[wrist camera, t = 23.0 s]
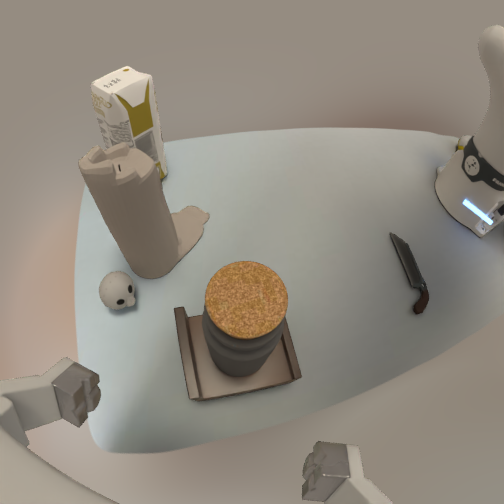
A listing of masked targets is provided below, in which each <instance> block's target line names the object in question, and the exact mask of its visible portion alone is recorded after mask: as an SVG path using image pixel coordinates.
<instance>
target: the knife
mask: <svg viewBox="0 0 504 504" xmlns="http://www.w3.org/2000/svg"><path fill="white" fill-rule="evenodd" d="M390 235H391V237H392V239H393V241H394V244H395V246H396V248H397V251H398V253H399V255H400V258H401V260H402V262H403V265H404V267H405V270H406V272H407V275H408V277H409V280H410V282H411V285H412V286H413V288H420V289H421V291H422V292H421V298H420V299H419V300H418V301H417V303H416V304H415V305H414V312H415V313H416V314H420V313H422V312H423V311H424V309H425V308H426V305H427V303H428V301H429V293H428V289H427V286H426V283H425V281H424V279H423V278H422V276H421V273H420V271H419V268H418V266H417V264H416V261H415V259H414V257H413V254H412V252H411V250H410V248H409V245H408V244H407V243H405V241H403V240H402V239H401V238H399V237H398V236H396V235H395V234H393V233H390ZM422 284H423V285H424V287H423V286H422Z"/></svg>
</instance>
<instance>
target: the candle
mask: <svg viewBox="0 0 504 504" xmlns="http://www.w3.org/2000/svg"><path fill="white" fill-rule="evenodd" d="M78 165H79V169H80V171H81V173H82V175H83V177H84V180H85V182H86V184H87V186H88V188H89V190H90V192H91V194H92V196H93V198H94V200H95V202H96V205H97V207H98V209H99V211H100V213H101V215H102V217H103V219H104V221H105V223H106V225H107V226H108V228H109V230H110V232H111V234H112V235H113V237H114V239H115V241H116V242H117V244H118V246H119V248H120V250H121V251H122V253H123V255H124V257H125V258H126V260H127V262H128V263H129V265H130V267H131V269H132V270H133V271H134V272H135V273H136V274H137V275H138V276H140V277H143V278H147V279H154V278H159V277H162V276H164V275H166V274H167V273H169V272H170V271H171V270H172V269H173V267H174V266H175V265H176V264H177V263H178V262H179V261H180V260H181V259H182V258H183V257H184V256H185V255H186V254H187V253H188V252H189V251H190V250H191V249H192V248H193V247H194V245H195V244H196V243H197V241H198V240H199V239H200V237H201V236H202V234H203V230H204V228H203V224H204V223H206V222H207V220H208V219H209V214H208V213H205V212H204V211H202V210H201V209H199V208H197V207H195V206H187V207H186V208H184V209H183V210H181V211H180V212H178V213H172V214H170V212H169V209H168V206H167V203H166V200H165V197H164V194H163V191H162V184H161V180H160V174H159V172H158V170H157V167H156V165H155V163H154V160H153V159H152V158H151V157H149V156H148V155H147V154H145V153H144V152H142V151H141V150H139V149H137V148H132V149H130V147H129V146H128V144H126V143H125V142H123V143H119V144H116V145H114V146H112V147H110V148H108V149H106V150H103V149H102V148H101V147H100V146H95V147H93V148H92V149H91V150H90V151H89V152H88V153H87V155H86V156H85V157H82V158H81V159H80V160H79V162H78Z"/></svg>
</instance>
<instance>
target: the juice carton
mask: <svg viewBox="0 0 504 504" xmlns="http://www.w3.org/2000/svg"><path fill="white" fill-rule="evenodd" d="M91 91H92V100H93V106H94V109H95V112H96V116H97V120H98V123H99V126H100V129H101V133H102V136H103V139H104V142H105V145H106V148H107V149H108V148H110V147H112V146H114V145H116V144H119V143H123V142H125V143H126V144H128V146H129V147H130V149H132V148H137V149H139V150H141V151H142V152H144V153H145V154H147V155H148V156H149V157H151V158H152V159H153V160H154V163H155V165H156V167H157V170H158V172H159V174H160V180H161V179H162V178H163V177H165V176H166V175H167V167H166V158H165V152H164V146H163V140H162V134H161V128H160V122H159V115H158V108H157V101H156V94H155V88H154V83H153V80H152V75H148V74H145V73H139V72H137V71H135V70H134V69H133V68H130V67H129V66H126V67H123V68H121V69H119V70H116V71H114V72H112V73H109V74H107V75H105V76H103V77H102V78H100V79H98V80H96V81H94V82H92V83H91Z"/></svg>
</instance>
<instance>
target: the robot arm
mask: <svg viewBox="0 0 504 504" xmlns="http://www.w3.org/2000/svg"><path fill="white" fill-rule="evenodd" d="M478 50H479V55H480V59H481V61H482V63H483V65H484V68H485V70H486V72H487V75H488V78H489V83H490V103H489V107H488V110H487V113H486V115H485V117H484V119H483V121H482V124H481V125H480V127H479V129H478V131H477V132H476V134H475V136H472V137H471V138H470V140H468V141H467V143H466V145H465V147H464V149H463V150H457V151H456V153H455V154H454V155H453V156H452V158H451V159H450V160H449V161H448V163H447V164H446V165H445V166H444V167H443V166H439V168H438V169H437V174H438V177H437V179H436V181H435V189H436V193H437V195H438V197H439V199H440V201H441V203H442V204H443V206H444V207H445V208H446V210H447V211H448V212H449V213H450V214H451V215H452V216H453V217H454V218H455V219H456V220H457V221H459V222H460V223H462V224H463V225H465V226H467V227H469V228H470V229H471V230H472V231H473V232H474V233H475V234H477V235H478V236H479V237H483V236H484V235H485V234H487V233H488V232H489V231H491V230H492V229H493V228H494V227H496V226H497V225H498V224H500V223H501V222H502V221H503V219H504V27H502V26H500V25H493V26H490V27H488V28H487V29H485V30H484V31H483V32H482V34H481V36H480V38H479V43H478ZM99 382H100V381H99V375H98V374H96V373H95V372H93V371H91V370H89V369H87V368H85V367H84V366H82V365H80V364H78V363H76V362H74V361H73V360H71V359H69V358H67V357H66V358H63V359H61V360H60V361H59V362H58V363H57V364H55V365H54V366H53V367H52V368H50V369H49V370H48V371H47V372H46V373H44V374H43V375H42V376H41V377H40V376H39V375H35V376H29V377H22V378H15V379H7V380H0V504H119V503H117V502H115V501H113V500H111V499H109V498H106V497H104V496H103V495H101V494H99V493H97V492H95V491H93V490H91V489H89V488H87V487H86V486H84V485H82V484H80V483H79V482H77V481H75V480H74V479H72V478H70V477H69V476H67V475H66V474H64V473H62V472H61V471H59V470H57V469H56V468H55V467H53V466H52V465H50V464H49V463H47V462H46V461H44V460H43V459H42V458H40V457H39V456H38V455H36V454H35V453H33V452H32V451H31V450H30V449H28V448H27V446H28V445H29V440H28V438H27V436H26V434H25V431H27V430H30V429H34V428H37V427H39V426H42V425H45V424H48V423H51V422H54V421H57V420H60V419H62V418H63V419H65V420H66V421H68V422H70V423H71V424H73V425H75V426H77V427H80V426H81V425H82V423H84V421H85V420H86V419H87V418H88V414H87V412H91V411H94V410H95V408H96V407H97V406H98V403H99V401H100V397H101V391H100V389H99V387H98V385H97V384H98V383H99ZM313 449H314V452H313V453H310V454H309V455H308V457H307V458H306V460H305V463H304V467H303V477H304V479H305V480H306V481H305V483H304V484H303V485H302V499H303V500H312V501H322V502H324V503H325V504H393V503H392V502H391V501H390V500H389V499H388V498H387V497H386V496H385V495H384V494H383V493H382V492H381V491H380V490H379V489H378V488H377V487H376V486H375V485H374V484H373V483H372V482H371V481H370V480H369V479H368V478H365V477H364V472H363V465H362V460H361V455H360V450H359V447H358V445H348V444H339V443H330V442H321V441H318V442H317V443H316V444H315V445H314V447H313Z"/></svg>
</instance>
